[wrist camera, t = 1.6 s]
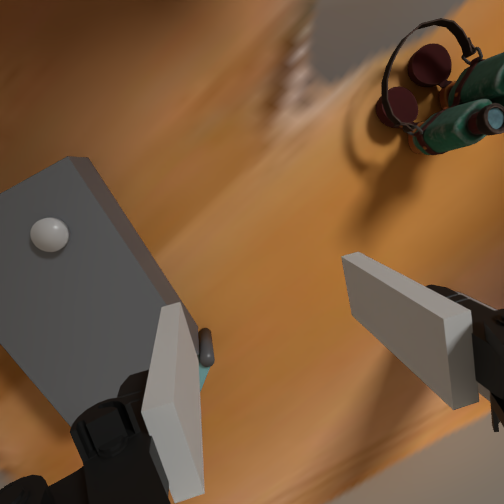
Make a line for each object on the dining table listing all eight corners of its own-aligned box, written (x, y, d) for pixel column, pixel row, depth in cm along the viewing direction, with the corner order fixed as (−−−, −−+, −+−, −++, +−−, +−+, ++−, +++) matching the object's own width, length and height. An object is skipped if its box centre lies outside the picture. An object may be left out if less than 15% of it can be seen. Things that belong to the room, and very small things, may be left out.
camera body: (-64, 241, 31) (-124, 260, 25) (88, 157, 32) (64, 156, 26) (68, 401, 36) (44, 448, 30) (198, 327, 37) (200, 359, 31)
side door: (157, 440, 38) (152, 482, 33) (201, 326, 36) (203, 352, 31) (175, 444, 39) (173, 485, 34) (219, 332, 37) (224, 358, 32)
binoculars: (487, -48, 24) (590, 60, 25) (406, 24, 34) (482, 97, 36) (396, 70, 24) (501, 167, 26) (344, 106, 35) (421, 174, 36)
